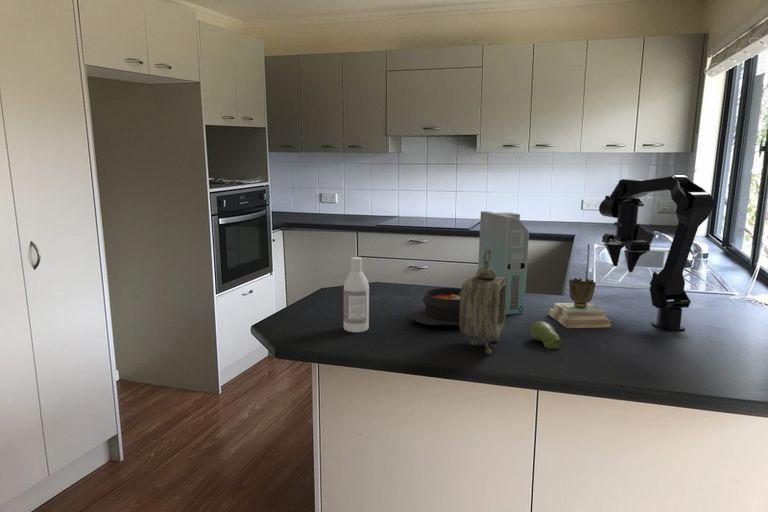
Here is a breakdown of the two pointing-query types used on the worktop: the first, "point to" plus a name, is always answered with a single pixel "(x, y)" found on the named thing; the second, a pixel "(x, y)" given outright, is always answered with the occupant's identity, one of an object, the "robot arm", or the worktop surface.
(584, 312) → the oak plinth
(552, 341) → the pear
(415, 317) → the casserole
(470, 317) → the tabletop clock
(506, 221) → the light blue cardboard box
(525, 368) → the worktop surface
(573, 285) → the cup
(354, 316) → the bath foam
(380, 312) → the worktop surface
